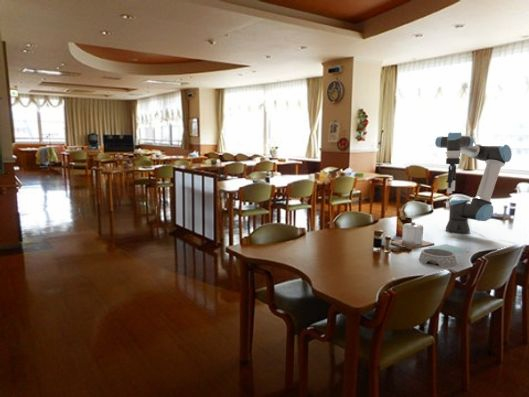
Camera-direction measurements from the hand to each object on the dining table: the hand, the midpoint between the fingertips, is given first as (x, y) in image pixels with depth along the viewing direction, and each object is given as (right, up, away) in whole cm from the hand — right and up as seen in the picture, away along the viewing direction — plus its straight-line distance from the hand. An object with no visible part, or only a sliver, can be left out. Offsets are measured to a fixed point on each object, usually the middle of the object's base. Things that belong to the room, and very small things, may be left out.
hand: (450, 192), depth 237 cm
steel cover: (-25, -31, -3) cm, 40 cm away
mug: (-21, -30, +19) cm, 41 cm away
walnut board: (-25, -33, -3) cm, 41 cm away
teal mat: (-8, -34, -14) cm, 38 cm away
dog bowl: (-24, -38, -35) cm, 57 cm away
